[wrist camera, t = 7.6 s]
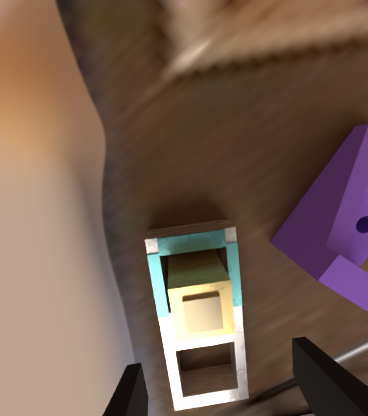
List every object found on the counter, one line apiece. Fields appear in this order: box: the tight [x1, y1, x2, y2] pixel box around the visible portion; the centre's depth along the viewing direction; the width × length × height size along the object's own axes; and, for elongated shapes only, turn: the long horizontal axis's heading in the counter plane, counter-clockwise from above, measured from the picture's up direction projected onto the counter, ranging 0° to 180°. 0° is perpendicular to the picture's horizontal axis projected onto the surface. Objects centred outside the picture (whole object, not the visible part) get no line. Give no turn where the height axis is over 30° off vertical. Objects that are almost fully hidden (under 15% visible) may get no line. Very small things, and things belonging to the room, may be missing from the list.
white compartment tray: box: [145, 219, 249, 411], centre depth 19 cm, size 17×7×3 cm, turn 7°
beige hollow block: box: [168, 248, 235, 343], centre depth 17 cm, size 4×4×6 cm
